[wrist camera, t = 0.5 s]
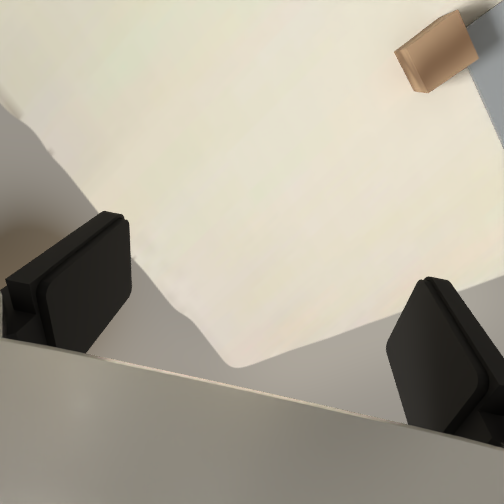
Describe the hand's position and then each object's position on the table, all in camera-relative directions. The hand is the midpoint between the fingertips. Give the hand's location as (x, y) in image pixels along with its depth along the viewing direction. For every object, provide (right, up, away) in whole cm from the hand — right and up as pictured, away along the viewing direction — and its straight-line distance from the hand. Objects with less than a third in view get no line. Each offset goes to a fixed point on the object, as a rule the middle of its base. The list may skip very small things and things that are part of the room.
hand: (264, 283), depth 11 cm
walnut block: (+19, +23, +26) cm, 39 cm away
